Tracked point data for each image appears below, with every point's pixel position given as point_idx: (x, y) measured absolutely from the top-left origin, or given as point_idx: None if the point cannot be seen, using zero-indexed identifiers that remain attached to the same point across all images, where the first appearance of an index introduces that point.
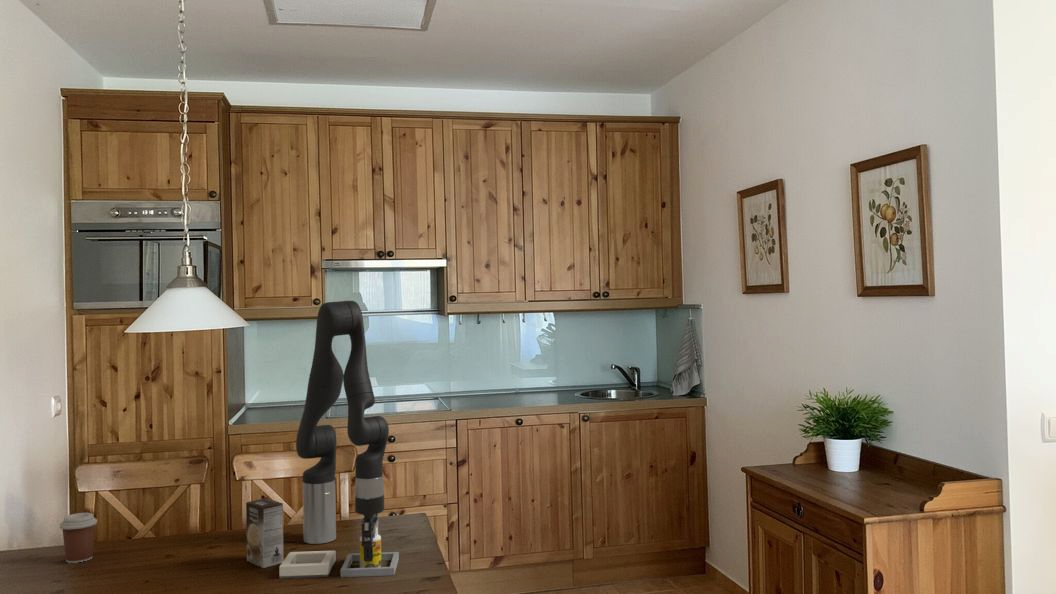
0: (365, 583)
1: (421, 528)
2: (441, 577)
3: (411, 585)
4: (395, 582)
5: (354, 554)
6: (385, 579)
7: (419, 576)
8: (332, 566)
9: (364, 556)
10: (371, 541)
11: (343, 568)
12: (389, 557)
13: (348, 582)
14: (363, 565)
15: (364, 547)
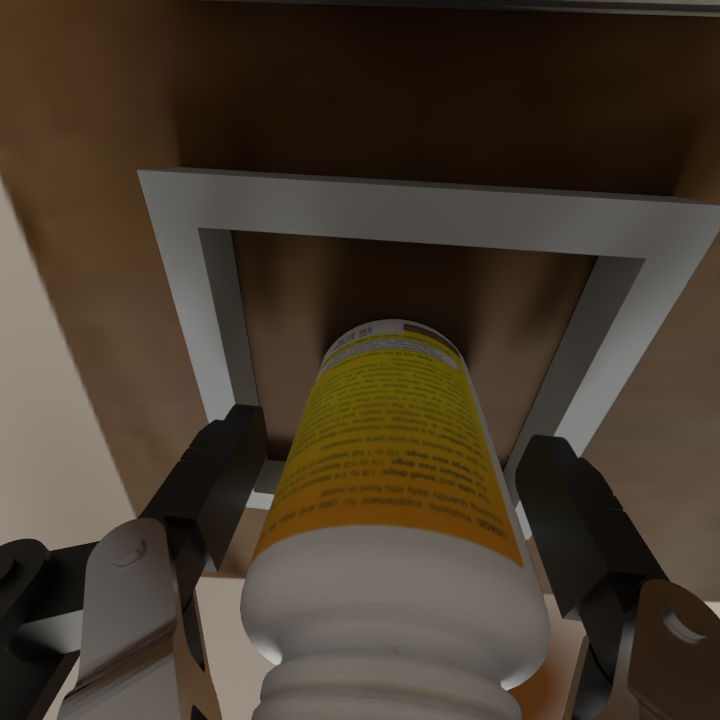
0: (102, 355)
1: None
2: (232, 576)
3: (133, 511)
4: (153, 471)
5: (648, 281)
6: (186, 440)
7: (238, 537)
8: (484, 3)
9: (219, 432)
10: (6, 673)
11: (193, 199)
12: (509, 482)
13: (86, 249)
14: (324, 359)
15: (169, 515)
